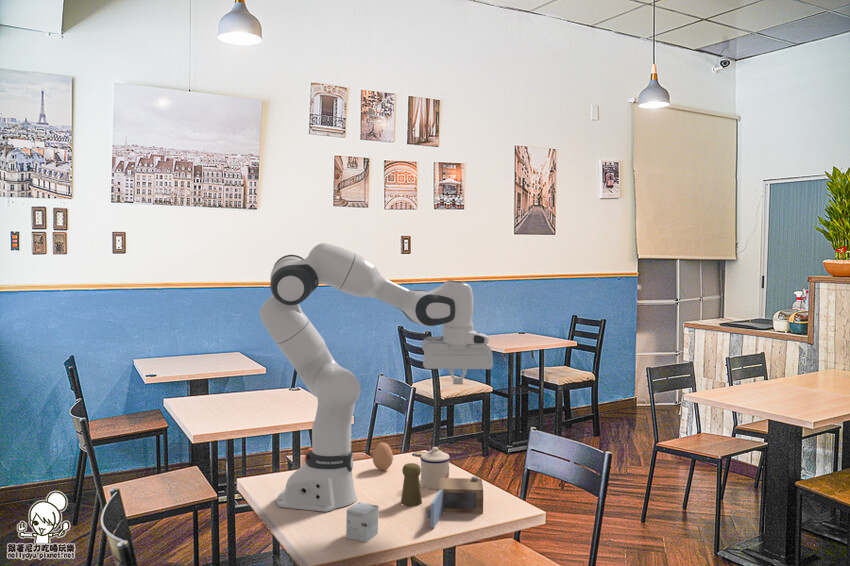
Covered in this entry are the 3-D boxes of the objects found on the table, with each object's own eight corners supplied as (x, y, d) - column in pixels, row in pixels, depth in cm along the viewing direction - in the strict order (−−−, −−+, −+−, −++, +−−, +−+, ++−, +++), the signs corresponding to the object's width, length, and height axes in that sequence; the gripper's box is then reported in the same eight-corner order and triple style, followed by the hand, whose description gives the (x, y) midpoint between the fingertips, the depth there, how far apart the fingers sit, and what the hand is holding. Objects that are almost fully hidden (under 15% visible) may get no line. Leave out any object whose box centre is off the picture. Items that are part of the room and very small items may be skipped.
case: (439, 512, 180) (439, 486, 180) (439, 500, 190) (439, 475, 189) (483, 513, 180) (483, 487, 180) (481, 501, 189) (481, 475, 189)
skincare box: (345, 538, 164) (345, 509, 163) (358, 529, 169) (358, 501, 169) (367, 542, 161) (367, 513, 161) (378, 533, 167) (378, 504, 167)
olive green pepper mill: (419, 507, 184) (419, 468, 184) (398, 505, 185) (398, 466, 185) (423, 499, 190) (424, 461, 190) (403, 497, 191) (403, 460, 191)
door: (436, 511, 180) (436, 488, 180) (443, 512, 180) (443, 489, 180) (426, 527, 170) (427, 502, 170) (434, 528, 169) (434, 503, 169)
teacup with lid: (453, 489, 199) (453, 451, 198) (423, 491, 197) (424, 452, 196) (443, 476, 210) (443, 440, 210) (415, 478, 208) (415, 441, 208)
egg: (397, 470, 216) (397, 442, 216) (381, 474, 212) (381, 446, 211) (384, 465, 221) (384, 438, 221) (368, 469, 216) (368, 442, 216)
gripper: (421, 337, 188) (421, 385, 188) (493, 338, 187) (493, 386, 188) (422, 335, 194) (422, 381, 195) (492, 335, 193) (491, 382, 194)
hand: (457, 384), depth 191 cm, fingers closed
